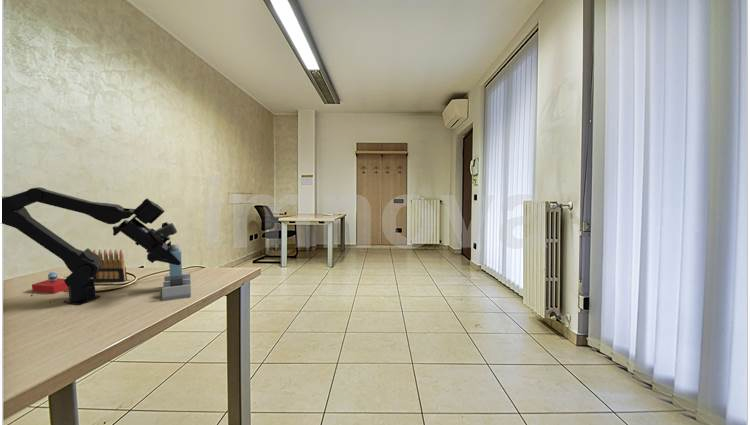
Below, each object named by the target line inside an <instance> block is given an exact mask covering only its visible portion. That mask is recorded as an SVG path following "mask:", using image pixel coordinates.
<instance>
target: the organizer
mask: <svg viewBox="0 0 750 425" xmlns="http://www.w3.org/2000/svg"><path fill="white" fill-rule="evenodd" d="M163 277H164V279H163V280H164V281H163V282H162V284H163V287H162V288H161V295H162V297H161V298H162V302H164V301H171V300H179V299H180V300H181V299H186V298H191V296H192V294H191V293H192V292H191V289H192V286H191V273H182V276H172V277H170V275H165V276H163Z"/></svg>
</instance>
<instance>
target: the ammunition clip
mask: <svg viewBox="0 0 750 425" xmlns="http://www.w3.org/2000/svg"><path fill="white" fill-rule="evenodd" d="M92 252H93V253H94V254H96V255H99V257H98V258H99V259H100V260H101V263H102V266H101V268H100V269H99V270H98V272H97V273H96V274H95V275H94V276H93V277H92V278H91V279H93V280H94V283H124V282H126V281H127V280H128V276H127V269H126V267H127V266H126V264H125V257H124V253H123V249H120V250H119V252H118V250H117V249H114V253H113V251H112V249H110V250H109V252H108V251H107V249H104V251H103V253H102V250H101V249H99V250H98V254H97V250H96V249H93V251H92Z"/></svg>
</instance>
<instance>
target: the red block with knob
mask: <svg viewBox="0 0 750 425" xmlns="http://www.w3.org/2000/svg"><path fill="white" fill-rule="evenodd" d="M65 279H66V278H59V277H58V273H57V272H55V271H50V272H49V273H48V274H47V279H45V280H42V281H39V282H36V283H33V284H31V289H32V290H31V291H32V293H40V294H52V295H54V294H55V295H56V294H58V293H60V292H63V291H66V290H68V286H67V285H66V283H65V282H64V280H65Z"/></svg>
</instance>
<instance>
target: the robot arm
mask: <svg viewBox="0 0 750 425" xmlns="http://www.w3.org/2000/svg"><path fill="white" fill-rule="evenodd" d="M1 197H2V223H1V224H3V225H6V226H8V227H11V228H15V229H16V230H18V231H19V232H20V233H22V234H24V235H25V236H27V237H28V238H30V239H31V240H32V241H34V242H36V243H37V244H38V245H39V246H41V247H43V248H44V249H46V250H47V251H48V252H50V253H52V254H53V255H55V256H56V257H57V258H59V259H60V260H62V261H63V263H64V264H65V265H66V268H67V269H68V270H69V272H71V273H70V274H69V275H68V276H67V277H66V278H64V279H65V280H64V282H65V283H66V285H67V286H68V289H67V290H68V299H65V300H63V303H65V304H66V303H67V304H73V305H82V304H85V303H88V302H91V301H93V300H96V299H99V298H101V295H99V294H96V285H95V282H94V280H93V279H92V277H93V276H94V275H95V274H96V273H97V272H98V270H99V269H100V268H101V266H102V263H101V260H100V259H99V258H98V257H99V255H98V254H97V255H96V254H94V253H93V251H92V250H91V249H90V248H88V247H87V248H86V249H85V250H81V249H78V248H76V247H74V246H73V245H71V244H70V243H69V242H67V241H66V240H64V239H63V238H62V237H60V236H59V235H58V234H56V233H54V232H53V231H52V230H50V229H49V228H47V227H46V226H44V225H43V224H42V223H40V222H39V221H37V220H36V219H35V218H33V216H31V214H30V213H29V211H28V209H27V208H26V207H28V206H30V205H32V204H35V203H41V204H45V205H49V206H51V207H52V206H53V207H55V208H56V207H57V208H60V209H63V210H68V211H72V212H77V213H81V214H85V215H87V216H89V217H91V218H93V219H95V220H97V221H100V222H102V223H105V224H106V225H114V226H112V231H113V232H112V233H113V234H112V235H113V236H117V235H118V234H119V233H120V232H121V233H122V234H124V235H125V236H127V238H129V240H130V239H131V240H132V241H134V242H135V245H136V246H141V247H142V248H143V249H145V251H146V253H147V255H146V260H147V261H148V262H150V263H152V264H153V263H154V262H162V263H166V264H169V263H170V264H175V265H180V264H181V262H180V261H179V260H178V259H177V258H176V257H175V256H174V255H173V254H172V253H171V252H170V250H171V245H172V242H171V237H170V236H173V235H176V234H177V233H178V230H177V228H176V227H175V225H174V223H172V222H170V223H169V222H167V221H165V222H163V223H161V227H159V228H158V229H156V230H155V229H154V228H150V227H147V226H146V225H147V224H153V223H154V222H155V221H156V220H158V218H160V217H161V216H162V215H163V214H164V213H165V209H163V207H161V206H160V205H159V204H157V203H155V202H154V201H152V200H150V199H149V198H145V199H144V200H142V203H140V204H139V205H138V206H137V207H136V208H128V207H126V208H125V207H124V206H122V205H120V204H117V203H116V204H115V203H108V202H98V201H97V202H96V201H91V200H86V199H82V198H79V197H74V196H71V195H67V194H64V193H60V192H57V191H52V190H50V189H46V188H44V187H39V186H38V187H33V188H29V189H27V190H26V191H22V192H19V193H15V194H12V195H10V196H9V195H8V196H5V195H4V196H1ZM132 216H133V217H132ZM131 217H132V218H131ZM129 218H131V219H129ZM127 219H129V220H127ZM122 220H123V221H122ZM121 221H122V222H121ZM119 223H120V224H119ZM115 224H118V225H115Z"/></svg>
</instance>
